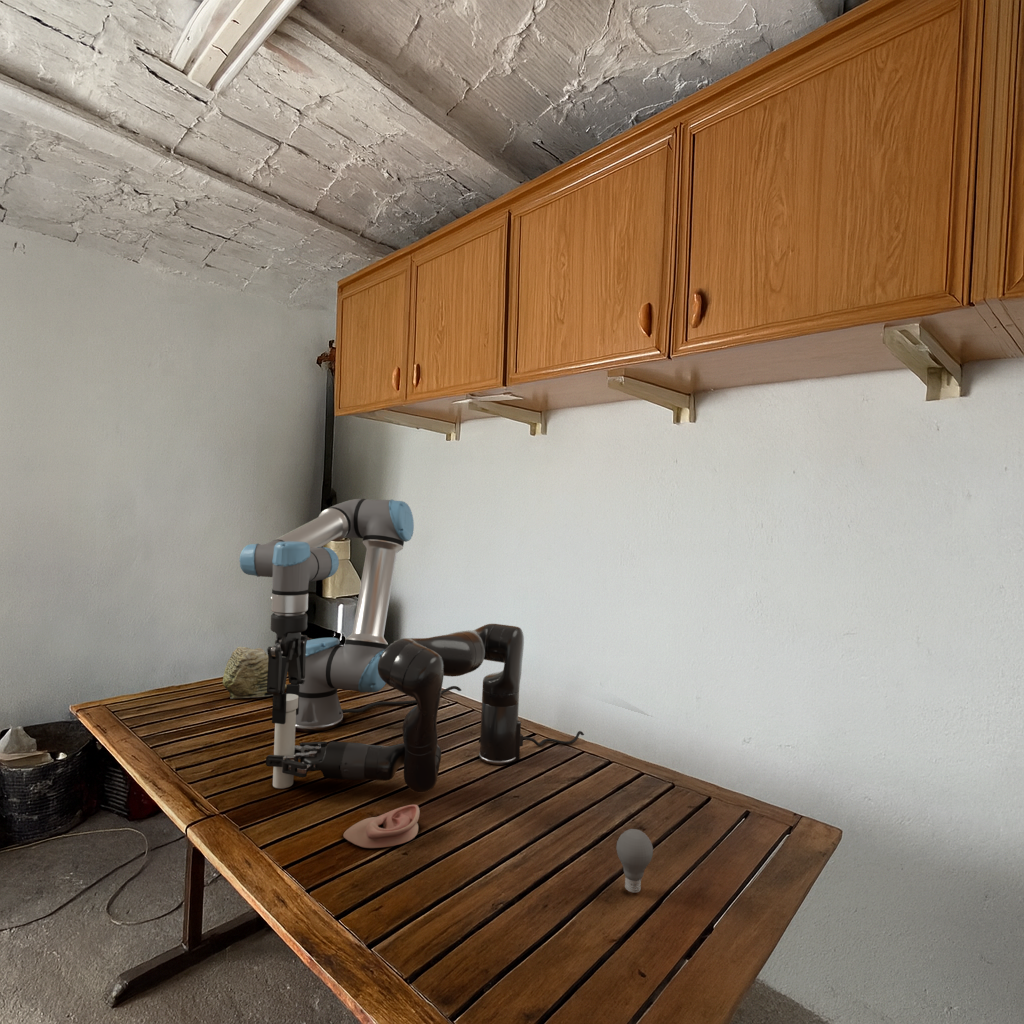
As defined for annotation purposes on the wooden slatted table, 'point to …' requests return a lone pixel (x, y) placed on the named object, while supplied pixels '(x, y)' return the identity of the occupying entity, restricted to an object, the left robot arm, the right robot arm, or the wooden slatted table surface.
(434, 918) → the wooden slatted table surface
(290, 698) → the lid
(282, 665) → the left robot arm
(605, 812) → the wooden slatted table surface
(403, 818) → the anatomical model
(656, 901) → the wooden slatted table surface
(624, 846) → the light bulb
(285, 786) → the off-white cylindrical rod
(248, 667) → the fossil
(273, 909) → the wooden slatted table surface
